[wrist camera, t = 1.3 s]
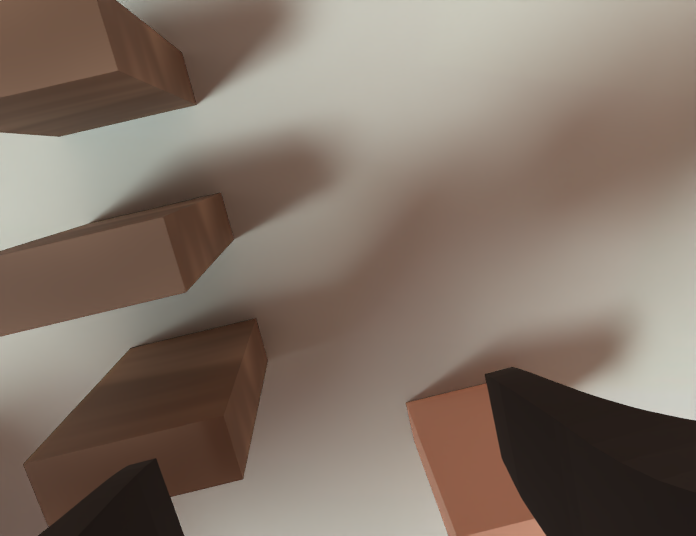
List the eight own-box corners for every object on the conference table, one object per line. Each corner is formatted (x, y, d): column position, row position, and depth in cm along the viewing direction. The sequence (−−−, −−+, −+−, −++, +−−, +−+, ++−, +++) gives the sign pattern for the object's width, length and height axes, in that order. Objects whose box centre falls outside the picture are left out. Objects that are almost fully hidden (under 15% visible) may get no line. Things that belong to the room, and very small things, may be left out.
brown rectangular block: (267, 360, 21) (243, 479, 14) (144, 389, 21) (48, 526, 13) (256, 318, 21) (223, 415, 13) (130, 348, 21) (22, 464, 13)
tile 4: (196, 104, 19) (118, 70, 11) (59, 136, 19) (-115, 124, 11) (181, 52, 19) (90, -21, 11) (41, 84, 19) (-152, 34, 11)
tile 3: (234, 239, 20) (186, 292, 12) (104, 270, 20) (-27, 342, 12) (220, 192, 20) (163, 216, 12) (88, 223, 20) (-57, 268, 12)
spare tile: (529, 413, 23) (645, 549, 15) (414, 441, 23) (469, 593, 15) (523, 374, 22) (637, 493, 14) (405, 402, 22) (457, 537, 14)
